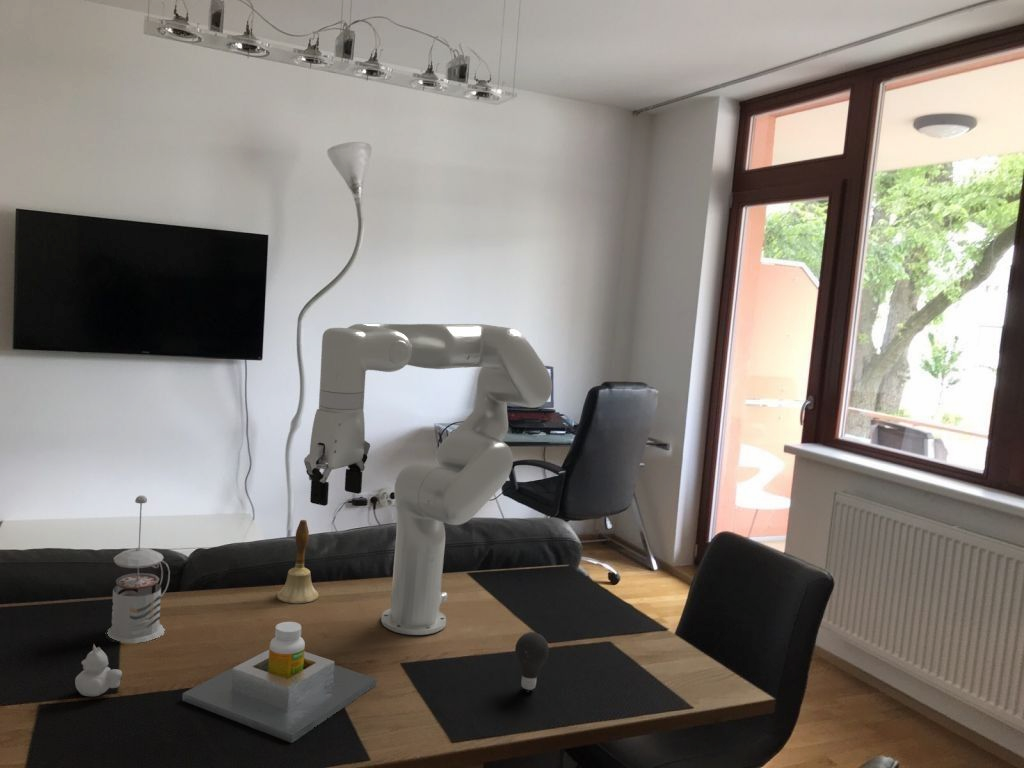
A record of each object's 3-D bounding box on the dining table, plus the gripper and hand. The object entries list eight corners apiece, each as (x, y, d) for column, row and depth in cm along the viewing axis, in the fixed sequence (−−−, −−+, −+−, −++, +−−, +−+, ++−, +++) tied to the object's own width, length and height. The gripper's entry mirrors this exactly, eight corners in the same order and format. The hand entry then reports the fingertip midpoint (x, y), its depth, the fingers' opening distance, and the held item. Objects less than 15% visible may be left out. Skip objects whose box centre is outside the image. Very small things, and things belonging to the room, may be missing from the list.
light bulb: (510, 681, 145) (515, 625, 144) (542, 683, 145) (548, 627, 144) (512, 697, 139) (518, 639, 138) (546, 699, 140) (552, 641, 139)
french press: (91, 635, 148) (97, 496, 145) (143, 614, 158) (149, 483, 155) (134, 649, 144) (140, 506, 141) (184, 626, 155) (191, 493, 152)
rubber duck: (82, 684, 131) (84, 635, 130) (127, 686, 132) (129, 637, 131) (68, 702, 125) (69, 650, 125) (114, 703, 126) (116, 652, 125)
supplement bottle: (292, 696, 131) (296, 636, 130) (260, 689, 132) (264, 630, 131) (307, 680, 136) (311, 623, 135) (277, 674, 137) (280, 617, 136)
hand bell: (277, 588, 177) (282, 514, 175) (318, 588, 179) (323, 515, 177) (276, 604, 169) (281, 526, 167) (318, 604, 171) (324, 527, 169)
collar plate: (275, 651, 148) (277, 626, 147) (375, 685, 139) (378, 658, 139) (182, 700, 129) (183, 671, 128) (291, 742, 120) (293, 711, 120)
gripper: (353, 393, 154) (347, 484, 156) (291, 403, 138) (286, 504, 140) (387, 398, 151) (382, 491, 153) (328, 409, 135) (323, 513, 137)
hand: (336, 497), depth 147 cm, fingers open, 9 cm apart
